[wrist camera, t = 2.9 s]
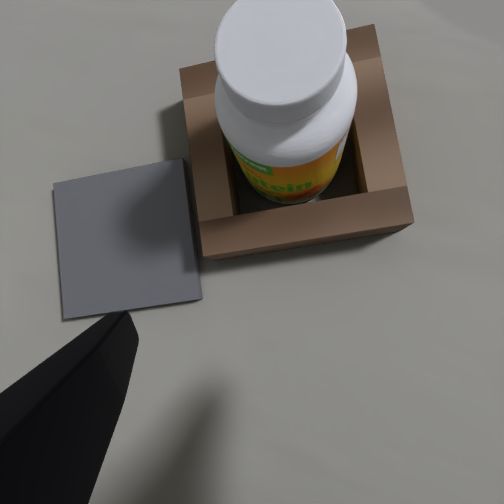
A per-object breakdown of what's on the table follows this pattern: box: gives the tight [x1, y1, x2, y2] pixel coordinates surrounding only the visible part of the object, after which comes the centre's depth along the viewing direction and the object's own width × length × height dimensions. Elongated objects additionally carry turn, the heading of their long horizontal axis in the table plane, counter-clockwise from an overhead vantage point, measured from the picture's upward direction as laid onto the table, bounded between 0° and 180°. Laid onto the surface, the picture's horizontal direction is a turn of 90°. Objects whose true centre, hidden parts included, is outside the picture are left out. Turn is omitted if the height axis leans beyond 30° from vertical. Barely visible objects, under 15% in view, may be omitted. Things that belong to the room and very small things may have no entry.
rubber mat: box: [53, 158, 203, 319], centre depth 21 cm, size 8×8×1 cm
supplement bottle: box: [214, 0, 357, 204], centre depth 15 cm, size 5×5×10 cm
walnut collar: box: [179, 24, 414, 261], centre depth 19 cm, size 10×10×2 cm
